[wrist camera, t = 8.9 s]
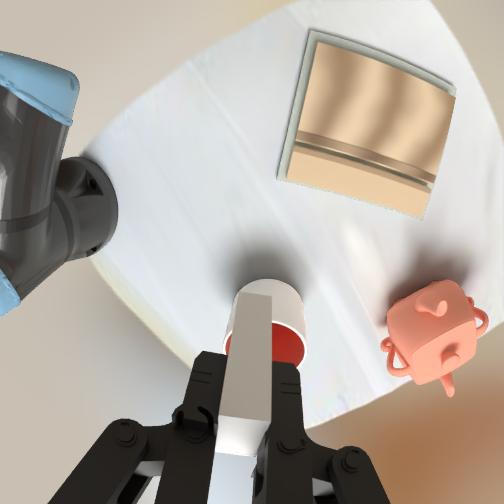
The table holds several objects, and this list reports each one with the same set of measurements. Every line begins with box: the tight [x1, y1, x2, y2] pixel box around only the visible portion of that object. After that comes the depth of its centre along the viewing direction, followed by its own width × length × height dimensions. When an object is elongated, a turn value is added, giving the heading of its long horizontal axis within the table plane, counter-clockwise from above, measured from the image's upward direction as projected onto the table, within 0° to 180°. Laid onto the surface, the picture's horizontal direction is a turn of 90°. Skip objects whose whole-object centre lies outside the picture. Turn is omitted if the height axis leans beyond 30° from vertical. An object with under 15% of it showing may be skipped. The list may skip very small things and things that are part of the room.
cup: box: [223, 279, 307, 369], centre depth 38 cm, size 10×10×10 cm
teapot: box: [381, 280, 489, 397], centre depth 35 cm, size 15×17×13 cm
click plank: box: [295, 42, 456, 185], centre depth 28 cm, size 18×12×1 cm, turn 78°
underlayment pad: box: [277, 30, 456, 220], centre depth 30 cm, size 20×19×2 cm
